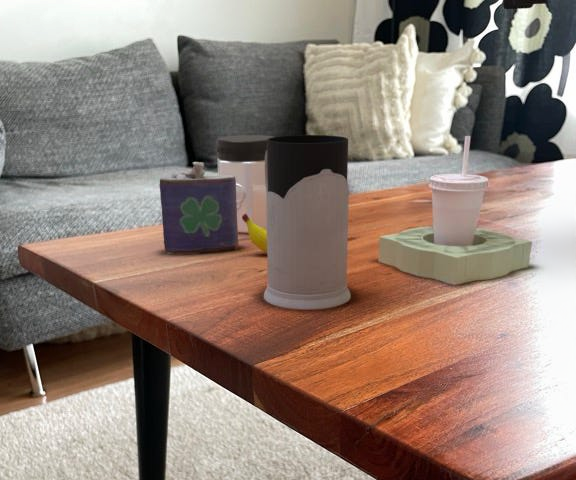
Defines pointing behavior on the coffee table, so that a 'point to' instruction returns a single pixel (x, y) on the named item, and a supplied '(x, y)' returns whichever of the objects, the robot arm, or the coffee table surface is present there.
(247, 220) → the fruit
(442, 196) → the smoothie
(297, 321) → the coffee table surface
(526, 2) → the robot arm
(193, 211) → the flask
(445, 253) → the ashtray
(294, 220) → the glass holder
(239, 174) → the jar
